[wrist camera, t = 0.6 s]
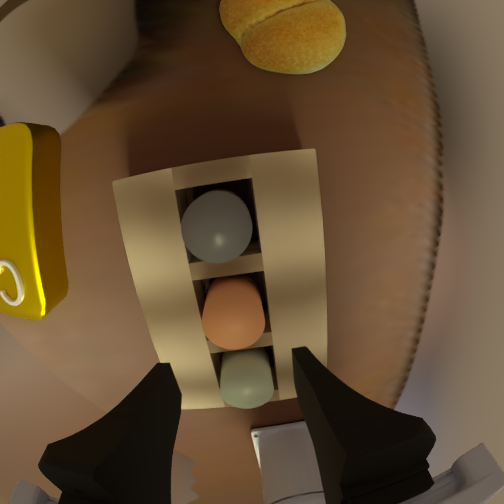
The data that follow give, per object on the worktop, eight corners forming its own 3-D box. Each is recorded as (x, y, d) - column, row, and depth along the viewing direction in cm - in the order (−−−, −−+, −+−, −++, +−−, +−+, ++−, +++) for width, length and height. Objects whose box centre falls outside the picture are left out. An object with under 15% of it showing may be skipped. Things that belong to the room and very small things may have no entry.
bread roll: (267, 95, 17) (274, 78, 13) (205, 8, 15) (200, -20, 11) (361, 57, 16) (385, 39, 12) (299, -23, 14) (309, -50, 10)
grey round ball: (252, 241, 18) (256, 258, 15) (196, 249, 18) (188, 267, 15) (244, 184, 17) (247, 188, 14) (187, 193, 17) (175, 199, 14)
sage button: (270, 374, 21) (276, 404, 18) (226, 379, 21) (225, 410, 18) (266, 338, 20) (271, 368, 17) (217, 345, 20) (215, 375, 17)
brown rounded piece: (263, 316, 20) (268, 345, 16) (212, 323, 20) (208, 352, 16) (256, 269, 19) (261, 291, 15) (202, 276, 19) (195, 300, 15)
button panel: (317, 369, 23) (326, 391, 20) (184, 386, 23) (179, 409, 20) (303, 151, 18) (315, 148, 15) (129, 178, 18) (111, 181, 15)
